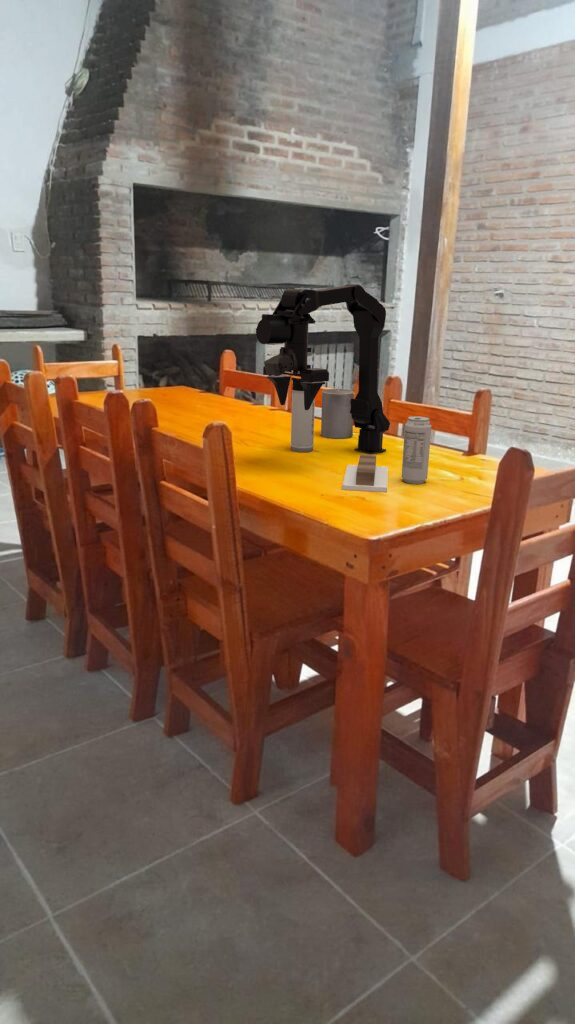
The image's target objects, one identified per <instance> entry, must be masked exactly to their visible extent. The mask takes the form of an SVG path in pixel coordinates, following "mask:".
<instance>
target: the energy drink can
mask: <svg viewBox="0 0 575 1024" xmlns="http://www.w3.org/2000/svg"><path fill="white" fill-rule="evenodd" d="M431 436H432V424H431V422H430V417H427V416H426V417H425V416H421V415H419V416H418V415H417V416H414V415H413V416H408V418H407V421H406V423H405V424H404V437H403V450H402V462H401V463H402V464H401V478H402V480H403V482H404V483H407V484H412V485H422V484H424V483H425V482H426V480H427V479H428V475H429V460H430V459H429V458H430V451H431V450H430V448H431V438H432V437H431Z"/></svg>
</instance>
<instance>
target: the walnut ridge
mask: <svg viewBox="0 0 575 1024" xmlns="http://www.w3.org/2000/svg"><path fill="white" fill-rule="evenodd" d="M357 465H358V467H357V473H356V485H368V486H374V479H375V469H376V466H377V454H359V458H358V464H357Z"/></svg>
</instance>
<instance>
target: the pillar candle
mask: <svg viewBox="0 0 575 1024" xmlns="http://www.w3.org/2000/svg"><path fill="white" fill-rule="evenodd" d="M354 395H355V392H354V391H353V390H351V389H343V388H340V387H339V386H338V387H337V388H332V389H330V388H329V389H323V390H322V392H321V423H320V424H321V425H320V436H321V437H322V438H326V439H330V438H331V440H337V439H338V440H339V439H340V440H342V439H343V440H344V439H345V438H346V439H351V438H352V437H353V435H354V434H353V433H354V432H353V431H354V421H353V419H352V415H351V413H350V410H351V403H350V401H351V399H355V397H354Z"/></svg>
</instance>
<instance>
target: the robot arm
mask: <svg viewBox="0 0 575 1024" xmlns="http://www.w3.org/2000/svg"><path fill="white" fill-rule="evenodd" d="M342 303H345V305H346V310H347V311H348V312H349V313H350V315H351V316H352V320H353V328H354V330H355V332H356V334H357V336H358V339H359V340H358V341H359V345H358V351H359V352H358V390H357V393H356V396H355V397H354V399H351V401H350V403H351V410H350V413H351V415H352V419H353V426H354V427H355V428H356V429H359V434H358V438H357V440H358V441H357V447H355V448H354V450H353V451H356V452H357V451H358V452H362V453H364V454H368V455H374V454H377V453H383V452H387V449H386V448H383V438H384V436H383V435H384V432H387V431H389V430H390V429H389V428H390V426H391V422H390V421H389V419H388V418H387V416H386V415H385V414H384V407H383V401H382V399H381V398H380V397H381V396H380V395H379V393H378V364H379V363H378V360H379V337H380V336H381V334H382V332H383V331H384V328H385V325H386V318H387V309H386V308H385V306H384V305H383V304H382V303H381V302H379V300H378V299H377V298H375V297H374V296H373V295H371V294H370V293H369V292H368V291H366V290H365V289H364V287H363V286H361V285H360V284H353V283H352V284H350V283H349V284H348V283H347V284H345V285H341V286H332V287H327V288H322V289H308V288H303V289H302V288H287V289H285V290H284V291H283V293H282V295H281V299H280V301H279V302H278V303H277V305H276V307H275V309H274V311H273V312H272V314H270V313H269V314H267V313H263V314H261V320H259V321H258V323H257V325H256V328H255V335H256V339H257V341H258V342H259V343H260V344H262V345H275V344H276V345H279V344H284V345H283V346H281V347H280V348H279V353H278V354H277V355H273V356H272V357H270V358H268V359H266V360H265V361H264V362H263V365H264V366H263V369H262V371H263V372H262V373H263V374H262V375H264V376H266V379H268V380H269V381H270V382H271V383H272V384H273V385H274V389H275V392H276V395H277V398H278V401H279V405H280V406H285V404H286V401H287V398H288V392H289V388H290V383H291V378H292V377H291V376H293V377H298V378H300V379H302V381H305V382H300V384H301V385H302V387H303V388H304V407H305V410H309V409H310V407H311V405H312V403H313V401H314V399H315V400H316V397H317V395H318V393H319V391H320V390H321V388H322V387H323V385H326V382H330V372H329V371H328V369H326V368H320V367H314V368H312V367H311V366H312V365H311V364H308V353H312V347H309V344H308V343H309V325H310V324H313V325H315V324H316V322H317V321H316V320H315V319H314V318H313V317H312V316H311V313H313V312H316V311H317V310H318V309H319V308H322V307H324V306H325V307H326V306H329V305H336V304H342Z"/></svg>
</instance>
